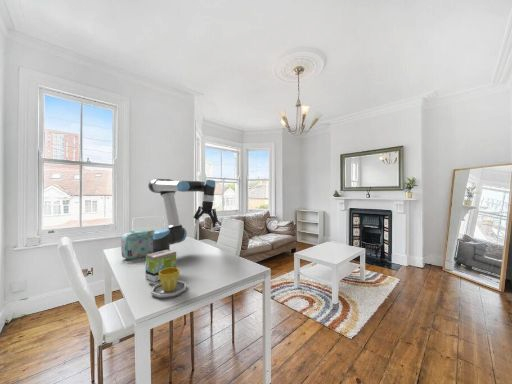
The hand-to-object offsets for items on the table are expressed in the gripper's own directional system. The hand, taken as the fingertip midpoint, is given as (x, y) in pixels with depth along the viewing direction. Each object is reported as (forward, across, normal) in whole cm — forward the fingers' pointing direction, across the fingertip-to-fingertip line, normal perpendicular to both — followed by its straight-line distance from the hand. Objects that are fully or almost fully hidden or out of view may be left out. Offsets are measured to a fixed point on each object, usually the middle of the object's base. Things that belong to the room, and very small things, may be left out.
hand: (204, 230), depth 158 cm
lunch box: (+32, -56, -5) cm, 64 cm away
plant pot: (+25, +12, -40) cm, 49 cm away
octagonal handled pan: (+27, +8, -40) cm, 49 cm away
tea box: (+28, -8, -28) cm, 40 cm away
